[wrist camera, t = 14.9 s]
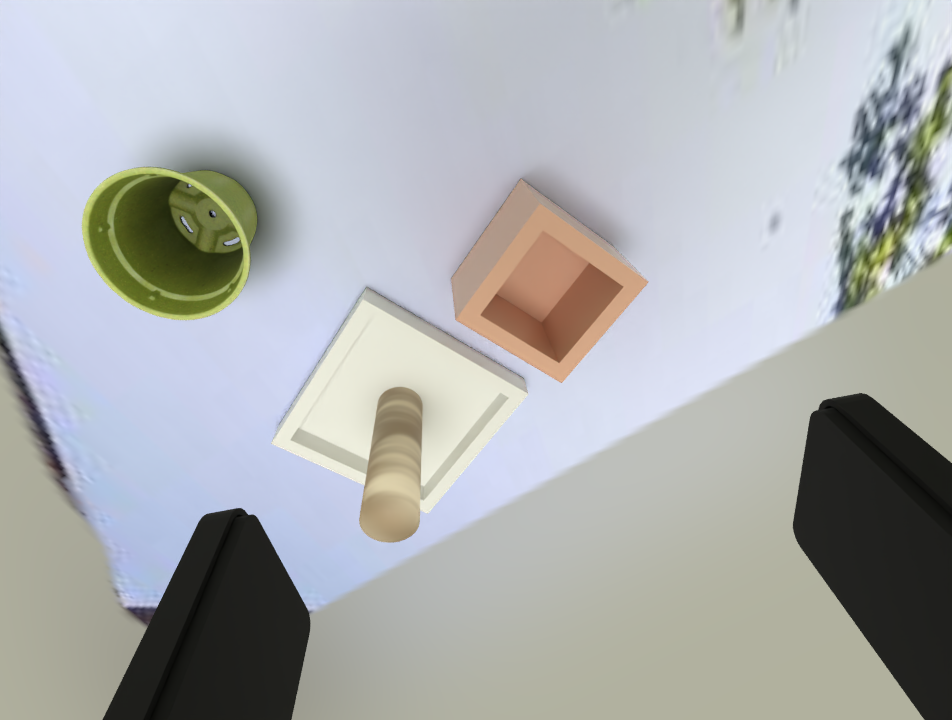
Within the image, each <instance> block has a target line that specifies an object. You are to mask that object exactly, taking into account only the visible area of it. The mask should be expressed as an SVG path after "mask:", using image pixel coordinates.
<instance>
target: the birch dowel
mask: <svg viewBox="0 0 952 720" xmlns="http://www.w3.org/2000/svg"><path fill="white" fill-rule="evenodd" d="M422 415H423V404H422V400H421V398H420V396H419V395H418V394H417V393H416V392H415V391H413V390H411V389H409V388H405V387H394V388H391V389H388V390H387V391H385V392H384V393H383V394H382V395H381V396H380V398H379V400H378V404H377V411H376V417H375V423H374V430H373V436H372V442H371V448H370V455H369V461H368V467H367V474H366V480H365V486H364V493H363V499H362V505H361V511H360V518H359V522H360V526H361V528H362V530H363V532H364V533H365V534H366V535H368V536H369V537H371V538H372V539H374V540H377V541H381V542H398V541H402V540H405V539H407V538H409V537H410V536H412V535H413V534H414V533H415V532H416V530H417V529H418V527H419V522H420V490H421V453H422Z"/></svg>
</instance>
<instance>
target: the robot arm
mask: <svg viewBox="0 0 952 720" xmlns="http://www.w3.org/2000/svg"><path fill="white" fill-rule="evenodd" d="M793 530H794V534H795V537H796V539H797V542H798V544H799V545H800V547H801V548H802V550H803V551H804V553H805V554H806V555H807V556H808V558H809V560H810V561H811V562H812V563H813V565H814V567H815V568H816V569H817V571H818V572H819V574H820V575H821V576H822V578H823V579H824V580H825V582H826V583H827V585H828V586H829V587H830V589H831V590H832V592H833V593H834V594H835V596H836V597H837V599H838V600H839V601H840V603H841V604H842V605H843V607H844V608H845V610H846V611H847V613H848V614H849V615H850V617H851V618H852V619H853V621H854V622H855V624H856V625H857V626H858V628H859V629H860V631H861V632H862V633H863V635H864V636H865V638H866V639H867V640H868V642H869V643H870V645H871V646H872V647H873V649H874V650H875V652H876V653H877V654H878V656H879V657H880V658H881V660H882V661H883V663H884V664H885V665H886V667H887V668H888V670H889V671H890V672H891V674H892V675H893V677H894V678H895V679H896V681H897V682H898V683H899V685H900V686H901V688H902V689H903V690H904V692H905V693H906V695H907V696H908V697H909V699H910V700H911V702H912V703H913V704H914V706H915V707H916V708H917V710H918V711H919V713H920V714H921V716H922V717H923V718H924V719H925V720H952V463H951V462H950V461H948V460H947V459H946V458H945V457H943V456H942V455H941V454H940V453H939V452H937V451H936V450H935V449H934V448H932V447H931V446H930V445H929V444H928V443H926V442H925V441H924V440H923V439H922V438H920V437H919V436H918V435H917V434H916V433H914V432H913V431H912V430H911V429H910V428H908V427H907V426H906V425H904V424H903V423H902V422H901V421H900V420H899V419H897V418H896V417H895V416H893V414H891V413H890V412H889V411H888V410H886V409H885V408H884V407H883V406H882V405H880V404H879V403H878V402H877V401H876V400H874V399H873V398H872V397H870V396H868V395H867V394H862V393H859V394H854V395H848V396H843V397H838V398H832V399H827V400H824V401H823V402H822V403H821V404H820V406H819V410H817V411H814V412H813V413H812V414H811V417H810V421H809V427H808V434H807V440H806V447H805V452H804V458H803V465H802V471H801V478H800V483H799V490H798V496H797V502H796V509H795V514H794V521H793ZM309 633H310V617H309V612H308V610H307V608H306V606H305V604H304V602H303V600H302V598H301V597H300V595H299V593H298V591H297V589H296V587H295V586H294V584H293V582H292V580H291V578H290V577H289V575H288V573H287V571H286V569H285V567H284V566H283V564H282V562H281V560H280V558H279V556H278V555H277V553H276V551H275V549H274V547H273V545H272V544H271V542H270V540H269V538H268V536H267V534H266V533H265V531H264V529H263V527H262V525H261V523H260V522H259V520H258V518H257V517H256V516H255V515H248V514H247V513H246V512H245V510H243V509H241V508H236V509H231V510H226V511H220V512H215V513H209V514H206V515H204V516H203V517H202V518H201V520H200V521H199V523H198V525H197V527H196V529H195V531H194V533H193V535H192V537H191V539H190V541H189V543H188V546H187V548H186V550H185V552H184V554H183V556H182V558H181V560H180V562H179V564H178V566H177V568H176V570H175V572H174V574H173V576H172V578H171V580H170V582H169V585H168V587H167V589H166V591H165V593H164V595H163V597H162V599H161V601H160V603H159V605H158V607H157V609H156V611H155V613H154V615H153V617H152V619H151V621H150V624H149V626H148V628H147V630H146V632H145V634H144V636H143V638H142V640H141V642H140V644H139V646H138V648H137V650H136V652H135V654H134V657H133V658H132V661H131V663H130V665H129V667H128V669H127V671H126V673H125V675H124V677H123V679H122V681H121V683H120V685H119V687H118V689H117V691H116V694H115V695H114V698H113V700H112V702H111V704H110V706H109V708H108V710H107V712H106V714H105V716H104V718H103V720H291V719H292V714H293V709H294V705H295V700H296V694H297V690H298V685H299V680H300V676H301V671H302V666H303V661H304V657H305V652H306V647H307V643H308V638H309Z"/></svg>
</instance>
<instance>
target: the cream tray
mask: <svg viewBox="0 0 952 720" xmlns="http://www.w3.org/2000/svg"><path fill="white" fill-rule="evenodd" d="M394 387H405V388H409V389H411V390H413V391H415V392H416V393H417V394H418V395H419V396H420V398H421V400H422V404H423V415H422V453H421V490H420V510H421V511H423V512H425V513H427V514H428V513H429V512H430V511H431V509H432V508H433V507H434V506H435V505H436V503H437V502H438V501H439V500H440V499H441V497H442V496H443V495H444V494H445V493H446V492H447V490H448V489H449V488H450V487H451V486H452V484H453V483H454V482H455V481H456V480H457V478H458V477H459V476H460V475H461V474H462V472H463V471H464V470H465V469H466V468H467V467H468V465H469V464H470V463H471V462H472V461H473V459H474V458H475V457H476V456H477V455H478V453H479V452H480V451H481V450H482V449H483V447H484V446H485V445H486V444H487V443H488V442H489V440H490V439H491V438H492V437H493V436H494V434H495V433H496V432H497V431H498V430H499V428H500V427H501V426H502V425H503V424H504V422H505V421H506V420H507V419H508V418H509V417H510V415H511V414H512V413H513V412H514V411H515V409H516V408H517V407H518V406H519V405H520V403H521V402H522V401H523V400H524V399H525V397H526V396H527V395H528V391H527V388H526V384H525V381H524V378H522V377H520V376H519V375H517V374H515V373H513V372H512V371H510V370H508V369H507V368H505V367H503V366H501V365H500V364H498V363H496V362H495V361H493V360H491V359H489V358H488V357H486V356H484V355H483V354H481V353H479V352H477V351H476V350H474V349H472V348H470V347H469V346H467V345H465V344H464V343H462V342H460V341H458V340H457V339H455V338H453V337H452V336H450V335H448V334H446V333H445V332H443V331H441V330H440V329H438V328H436V327H434V326H433V325H431V324H429V323H428V322H426V321H424V320H422V319H421V318H419V317H417V316H416V315H414V314H412V313H410V312H409V311H407V310H405V309H403V308H402V307H400V306H398V305H397V304H395V303H393V302H391V301H390V300H388V299H386V298H385V297H383V296H381V295H379V294H378V293H376V292H374V291H373V290H371V289H369V288H367V287H366V288H365V290H364V291H363V293H362V295H361V296H360V298H359V299H358V301H357V303H356V304H355V306H354V307H353V309H352V310H351V312H350V314H349V315H348V317H347V318H346V320H345V321H344V323H343V325H342V326H341V328H340V329H339V331H338V333H337V334H336V336H335V337H334V339H333V340H332V342H331V344H330V345H329V347H328V348H327V350H326V351H325V353H324V355H323V356H322V358H321V359H320V361H319V363H318V364H317V366H316V367H315V369H314V370H313V372H312V374H311V375H310V377H309V378H308V380H307V381H306V383H305V385H304V386H303V388H302V389H301V391H300V393H299V394H298V396H297V397H296V399H295V400H294V402H293V404H292V405H291V407H290V408H289V410H288V412H287V413H286V415H285V416H284V418H283V419H282V421H281V423H280V424H279V426H278V428H277V430H276V433H275V435H274V438H273V440H272V443H271V444H273V445H275V446H277V447H280V448H282V449H284V450H286V451H289V452H291V453H293V454H295V455H298V456H300V457H302V458H304V459H307V460H309V461H311V462H313V463H316V464H318V465H320V466H322V467H324V468H327V469H329V470H331V471H333V472H336V473H338V474H340V475H342V476H345V477H347V478H349V479H351V480H354V481H356V482H358V483H360V484H363V485H365V480H366V474H367V467H368V461H369V455H370V448H371V442H372V436H373V430H374V423H375V417H376V411H377V404H378V400H379V398H380V396H381V395H382V394H383V393H384V392H385V391H387V390H388V389H391V388H394Z"/></svg>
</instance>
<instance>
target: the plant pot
mask: <svg viewBox="0 0 952 720" xmlns="http://www.w3.org/2000/svg"><path fill="white" fill-rule="evenodd" d="M188 183H189V184H191V185H192V187H190V188H187V186H188ZM211 210H212V211H214V212H215V213H216V217H215V218H213V217H211V216H210V215H209V212H210V211H211ZM181 216H183V217H184V218H185V220H186V222H187V224H188V225H189V227H190V228H191V229H192V230H193V233H189V232H188V231H187V229H186V228H185V226H183V224H182V223H181V220H180V217H181ZM256 227H257V212H256V208H255V206H254V203H253V201H252V199H251V197H250V196H249V194H248V193H247V192H246V190H245V189H244V188H243V187H242V186H241V185H240V184H239V183H238V182H236V181H235V180H233V179H231V178H229V177H227V176H225V175H223V174H220V173H217V172H214V171H209V170H200V171H193V172H186V173H180V172H177V171H173V170H170V169H165V168H158V167H139V168H133V169H129V170H125V171H122V172H119V173H117V174H114V175H112V176H111V177H109V178H107V179H106V180H104V181H103V182H102V183H101V184H100V185H99V186H98V187H97V188H96V189H95V190H94V192H93V193H92V194H91V196H90V198H89V199H88V201H87V203H86V206H85V209H84V213H83V218H82V234H83V239H84V244H85V248H86V251H87V254H88V257H89V259H90V261H91V263H92V265H93V267H94V268H95V270H96V271H97V273H98V274H99V275H100V276H101V278H102V279H103V281H104V282H105V283H106V284H107V285H108V286H109V287H110V288H111V289H112V290H113V291H114V292H116V293H117V294H118V295H119V296H120V297H121V298H122V299H124V300H125V301H127V302H128V303H130V304H131V305H133V306H135V307H137V308H139V309H141V310H143V311H145V312H148V313H150V314H152V315H156V316H159V317H163V318H168V319H174V320H194V319H200V318H205V317H208V316H211V315H213V314H215V313H217V312H219V311H221V310H223V309H224V308H226V307H227V306H228V305H230V304H231V303H232V302H233V301H234V300H235V299H236V298H237V296H238V295H239V294H240V292H241V291H242V289H243V287H244V286H245V283H246V281H247V278H248V275H249V271H250V259H251V257H250V248H249V246H250V244H251V242H252V239H253V237H254V235H255V232H256ZM236 237H239V238H240V241H239V242H238V243H236V244H233V245H231V246H225V245H223V243H224V242H227V241H230V240H233V239H235V238H236Z"/></svg>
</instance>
